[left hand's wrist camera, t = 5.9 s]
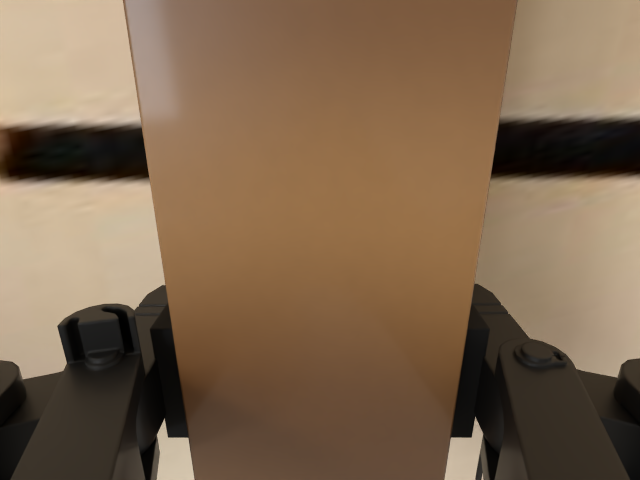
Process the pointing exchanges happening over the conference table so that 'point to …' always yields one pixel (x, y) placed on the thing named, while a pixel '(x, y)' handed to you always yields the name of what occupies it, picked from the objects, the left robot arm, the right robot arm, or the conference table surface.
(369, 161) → the beam
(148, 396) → the left robot arm
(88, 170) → the conference table surface
